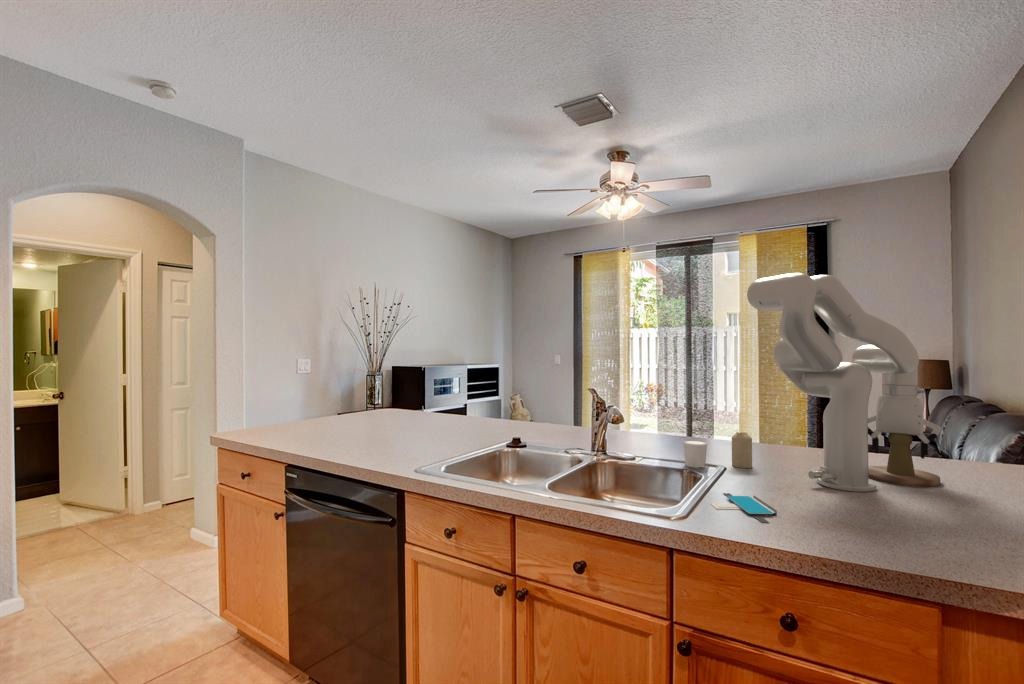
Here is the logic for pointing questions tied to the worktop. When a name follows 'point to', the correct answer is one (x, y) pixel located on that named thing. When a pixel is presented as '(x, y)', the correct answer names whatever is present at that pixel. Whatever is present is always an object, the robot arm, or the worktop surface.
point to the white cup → (695, 453)
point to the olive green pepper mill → (900, 455)
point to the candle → (741, 450)
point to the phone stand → (747, 506)
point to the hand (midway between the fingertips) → (899, 455)
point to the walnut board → (904, 477)
